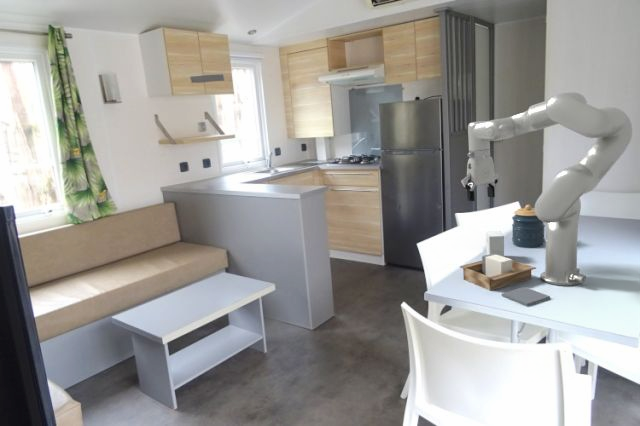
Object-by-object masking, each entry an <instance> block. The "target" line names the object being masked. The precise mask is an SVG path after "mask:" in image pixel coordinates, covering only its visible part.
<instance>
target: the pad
mask: <svg viewBox="0 0 640 426" xmlns="http://www.w3.org/2000/svg"><path fill="white" fill-rule="evenodd" d="M501 296H502V297H503V298H506V299H508V300H511V301H513V302H515V303H517V304H520V305H523V306H525V307H528V306H531V305H535V304H538V303H540V302H544V301H547V300H551V296H550V295H547V294H544V293H542V292H539V291H537V290H534V289H531V288H530V287H529V288H528V287H526V286H523V287H518V288H516V289H513V290H509V291H506V292H503V293H501Z"/></svg>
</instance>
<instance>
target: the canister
mask: <svg viewBox="0 0 640 426" xmlns="http://www.w3.org/2000/svg"><path fill="white" fill-rule="evenodd" d="M511 219H512V221H513V223H512V224H511V227H512V238H511V241H512V245H514V246H517V247H520V248H539V247H542V246H544V245H545V243H546V238H545V228H546V226H545V222H543V221H541V220H540V219H539V218H538V217H537V216H536V214H535V207H532V205H531V204H526V205H525V207H523V208H519V209H517V210H515V211H514V215H513V216H512V217H511Z"/></svg>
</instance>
